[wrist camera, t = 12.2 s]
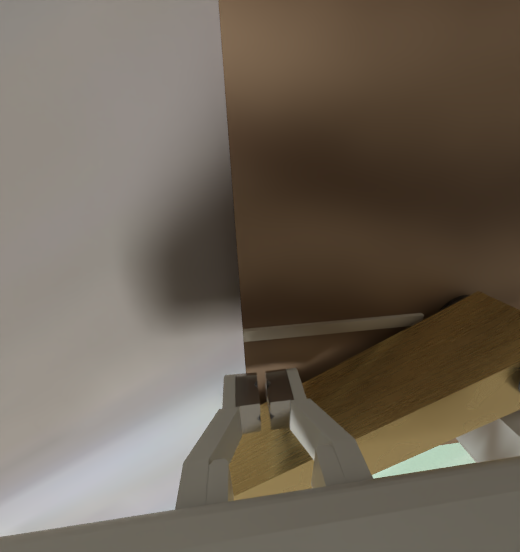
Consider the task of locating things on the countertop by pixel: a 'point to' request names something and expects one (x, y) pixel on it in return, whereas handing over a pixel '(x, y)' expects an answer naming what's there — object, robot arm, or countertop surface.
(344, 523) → the robot arm
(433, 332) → the bar
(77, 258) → the countertop surface
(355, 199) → the board
